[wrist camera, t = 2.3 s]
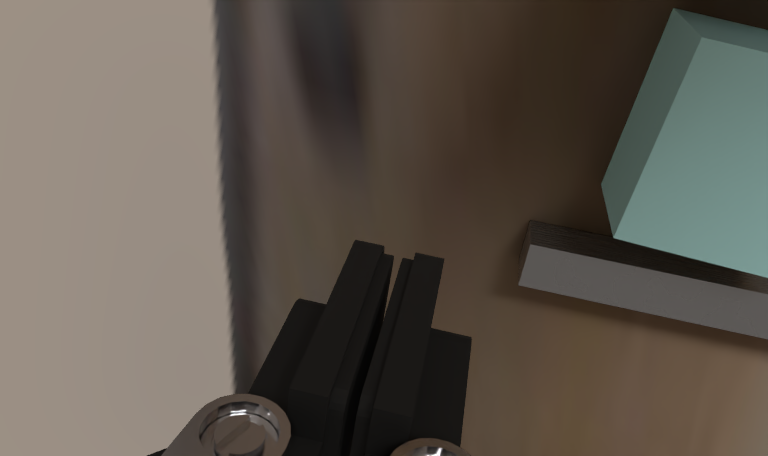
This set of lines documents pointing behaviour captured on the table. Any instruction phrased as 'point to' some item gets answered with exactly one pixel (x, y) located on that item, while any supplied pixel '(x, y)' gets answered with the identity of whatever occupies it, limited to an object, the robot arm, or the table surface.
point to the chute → (642, 279)
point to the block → (697, 147)
